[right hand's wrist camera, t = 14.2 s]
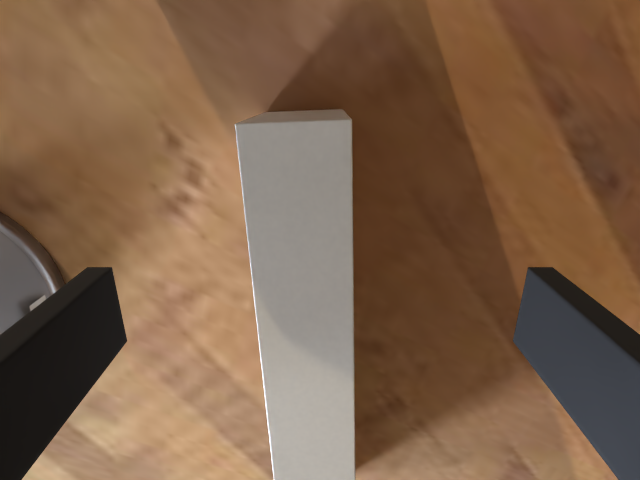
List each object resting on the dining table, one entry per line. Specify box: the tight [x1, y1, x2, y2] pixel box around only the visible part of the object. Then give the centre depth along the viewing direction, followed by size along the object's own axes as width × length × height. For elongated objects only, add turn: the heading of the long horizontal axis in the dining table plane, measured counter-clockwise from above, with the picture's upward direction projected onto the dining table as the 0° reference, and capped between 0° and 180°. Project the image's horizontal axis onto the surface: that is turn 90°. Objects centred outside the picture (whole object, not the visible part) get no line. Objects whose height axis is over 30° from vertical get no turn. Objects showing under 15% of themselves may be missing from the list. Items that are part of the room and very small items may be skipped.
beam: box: [235, 109, 355, 480], centre depth 27 cm, size 32×5×9 cm, turn 2°
